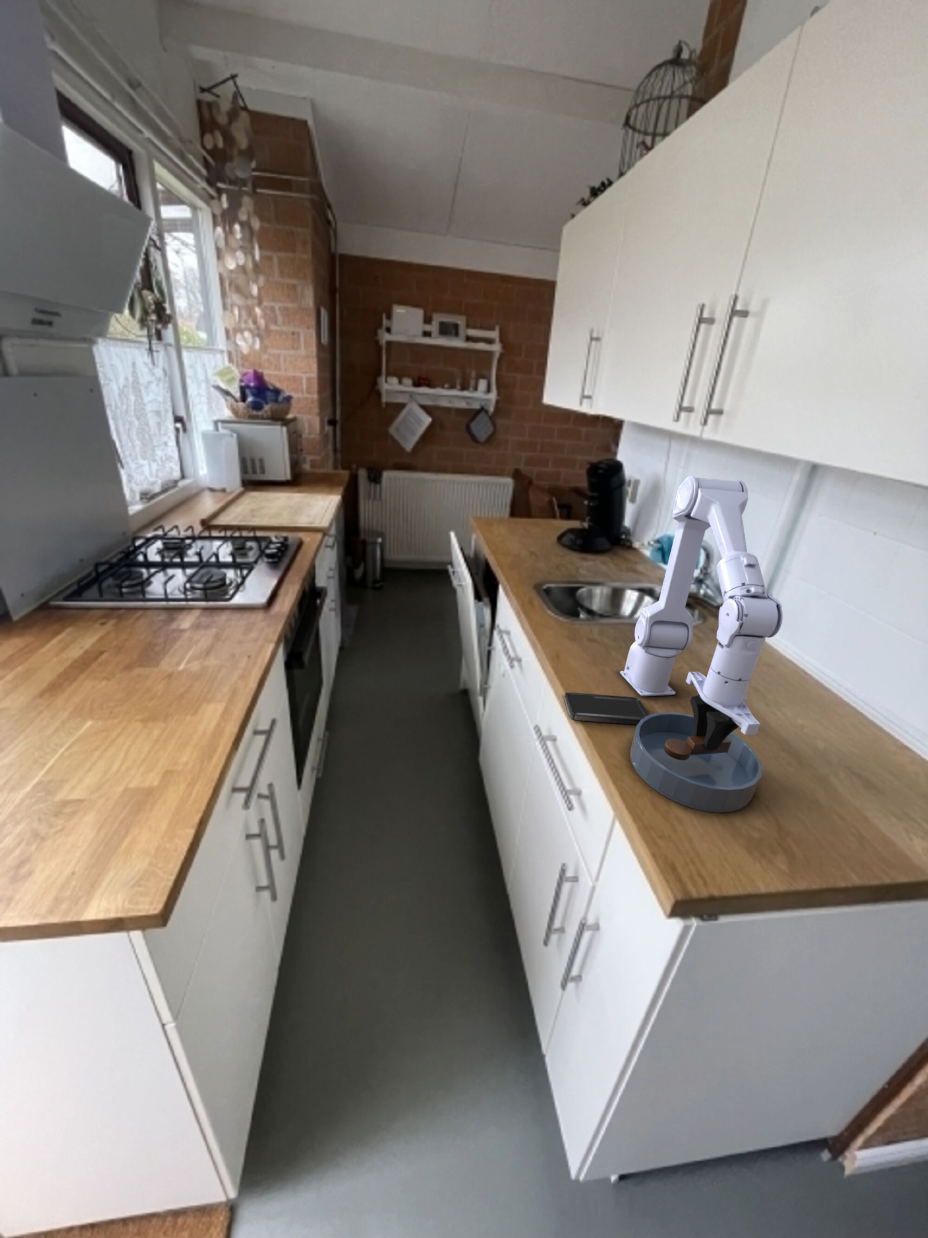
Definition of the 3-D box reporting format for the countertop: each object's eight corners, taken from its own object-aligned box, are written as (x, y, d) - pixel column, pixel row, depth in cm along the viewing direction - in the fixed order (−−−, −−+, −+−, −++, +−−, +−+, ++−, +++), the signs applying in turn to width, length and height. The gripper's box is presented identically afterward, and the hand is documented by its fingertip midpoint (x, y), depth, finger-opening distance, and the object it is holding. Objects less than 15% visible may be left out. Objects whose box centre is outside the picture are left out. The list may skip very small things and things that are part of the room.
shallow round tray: (609, 735, 91) (615, 715, 89) (704, 729, 95) (711, 709, 94) (670, 818, 74) (678, 795, 72) (781, 806, 78) (791, 784, 77)
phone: (651, 721, 94) (571, 714, 94) (650, 725, 95) (570, 719, 94) (638, 697, 102) (564, 691, 101) (637, 702, 102) (563, 696, 102)
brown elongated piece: (672, 761, 80) (676, 750, 79) (659, 745, 84) (662, 734, 83) (731, 756, 83) (735, 745, 82) (715, 741, 86) (719, 730, 85)
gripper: (789, 696, 72) (757, 772, 77) (722, 648, 85) (699, 715, 90) (746, 699, 70) (717, 775, 76) (684, 649, 83) (664, 717, 89)
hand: (705, 743), depth 83 cm, fingers closed on brown elongated piece, 2 cm apart
